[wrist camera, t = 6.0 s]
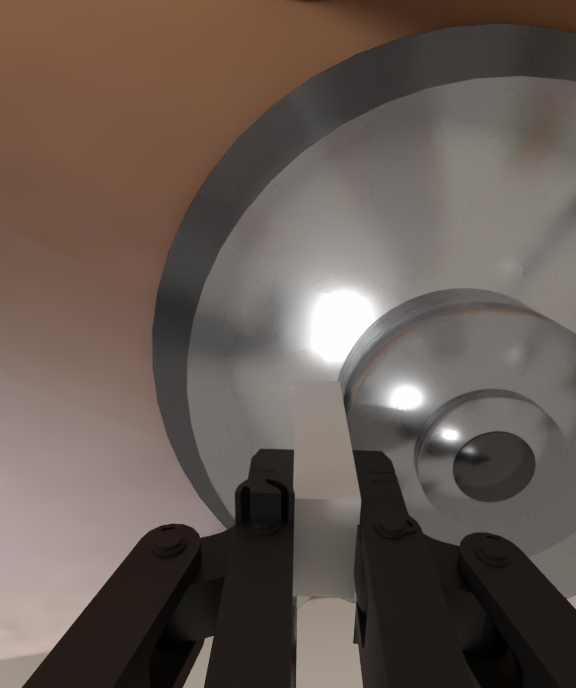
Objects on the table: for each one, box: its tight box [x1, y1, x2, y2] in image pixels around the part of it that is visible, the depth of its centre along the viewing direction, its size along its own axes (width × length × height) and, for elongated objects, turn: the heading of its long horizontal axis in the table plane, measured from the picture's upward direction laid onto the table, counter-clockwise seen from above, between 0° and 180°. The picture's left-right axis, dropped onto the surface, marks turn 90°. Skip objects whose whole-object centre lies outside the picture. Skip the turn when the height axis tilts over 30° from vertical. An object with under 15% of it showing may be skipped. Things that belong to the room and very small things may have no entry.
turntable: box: [187, 76, 576, 688], centre depth 17 cm, size 23×24×8 cm
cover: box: [337, 288, 576, 557], centre depth 17 cm, size 9×9×4 cm
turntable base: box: [153, 23, 576, 529], centre depth 21 cm, size 26×26×1 cm
